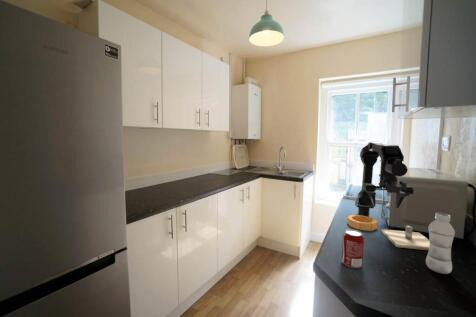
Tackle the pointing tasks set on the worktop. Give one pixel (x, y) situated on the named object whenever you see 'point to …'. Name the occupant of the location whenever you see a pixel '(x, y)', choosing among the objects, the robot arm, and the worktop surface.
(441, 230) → the plastic bottle
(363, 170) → the robot arm
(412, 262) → the worktop surface
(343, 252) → the soda can
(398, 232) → the hook stand
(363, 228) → the orange octagonal ring
